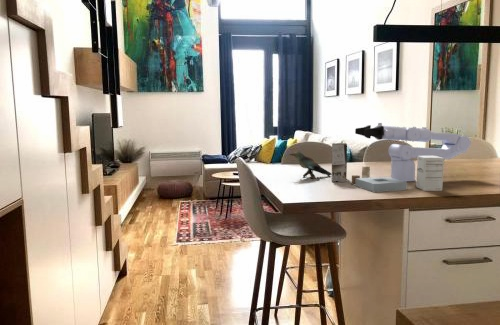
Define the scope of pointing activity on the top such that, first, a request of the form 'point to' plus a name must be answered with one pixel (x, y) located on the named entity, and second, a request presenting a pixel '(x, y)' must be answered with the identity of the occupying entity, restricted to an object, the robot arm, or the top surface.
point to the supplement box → (430, 173)
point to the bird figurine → (309, 164)
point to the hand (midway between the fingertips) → (360, 131)
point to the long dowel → (365, 171)
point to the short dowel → (354, 178)
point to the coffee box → (339, 162)
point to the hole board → (381, 184)
